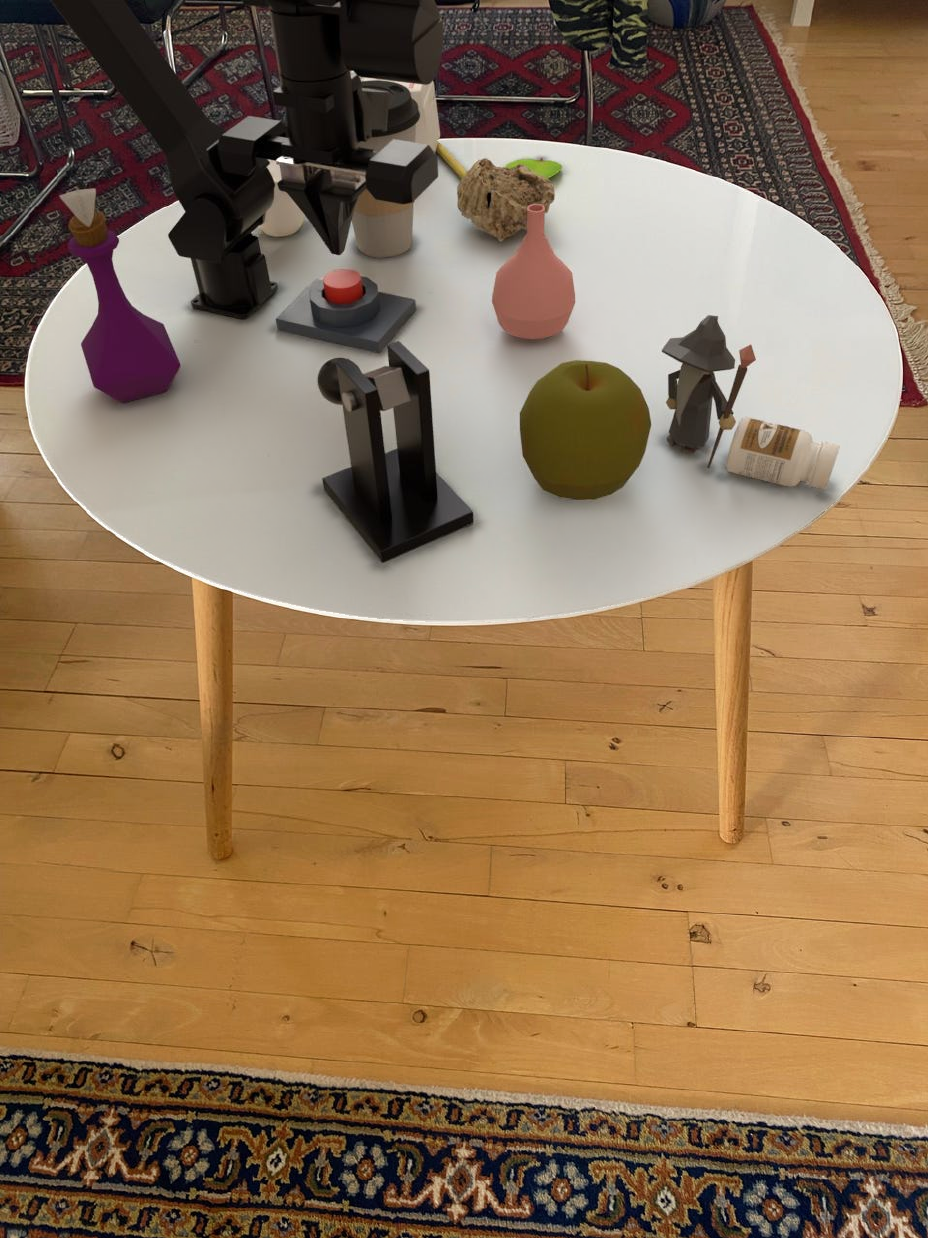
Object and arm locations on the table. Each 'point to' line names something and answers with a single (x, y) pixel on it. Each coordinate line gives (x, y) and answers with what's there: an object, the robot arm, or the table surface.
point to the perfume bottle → (117, 316)
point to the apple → (584, 430)
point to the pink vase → (534, 285)
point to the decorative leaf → (539, 166)
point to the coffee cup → (383, 222)
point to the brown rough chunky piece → (501, 197)
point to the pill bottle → (780, 454)
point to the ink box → (422, 111)
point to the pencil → (451, 160)
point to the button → (343, 286)
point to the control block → (348, 317)
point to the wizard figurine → (702, 384)
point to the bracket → (393, 465)
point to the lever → (383, 379)
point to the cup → (281, 210)
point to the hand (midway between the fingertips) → (338, 252)
